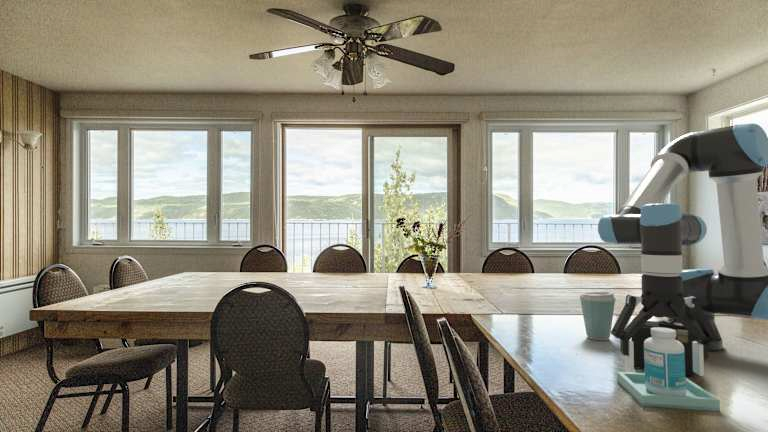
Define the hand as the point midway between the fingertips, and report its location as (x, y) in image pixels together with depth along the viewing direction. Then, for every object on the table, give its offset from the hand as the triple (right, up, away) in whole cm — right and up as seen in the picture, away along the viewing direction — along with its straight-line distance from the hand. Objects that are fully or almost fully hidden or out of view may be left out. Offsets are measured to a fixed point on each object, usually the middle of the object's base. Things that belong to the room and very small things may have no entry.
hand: (663, 372), depth 92 cm
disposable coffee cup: (+9, -6, +46) cm, 47 cm away
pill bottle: (0, -5, 0) cm, 5 cm away
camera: (+11, -6, +17) cm, 21 cm away
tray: (0, -5, 0) cm, 5 cm away
